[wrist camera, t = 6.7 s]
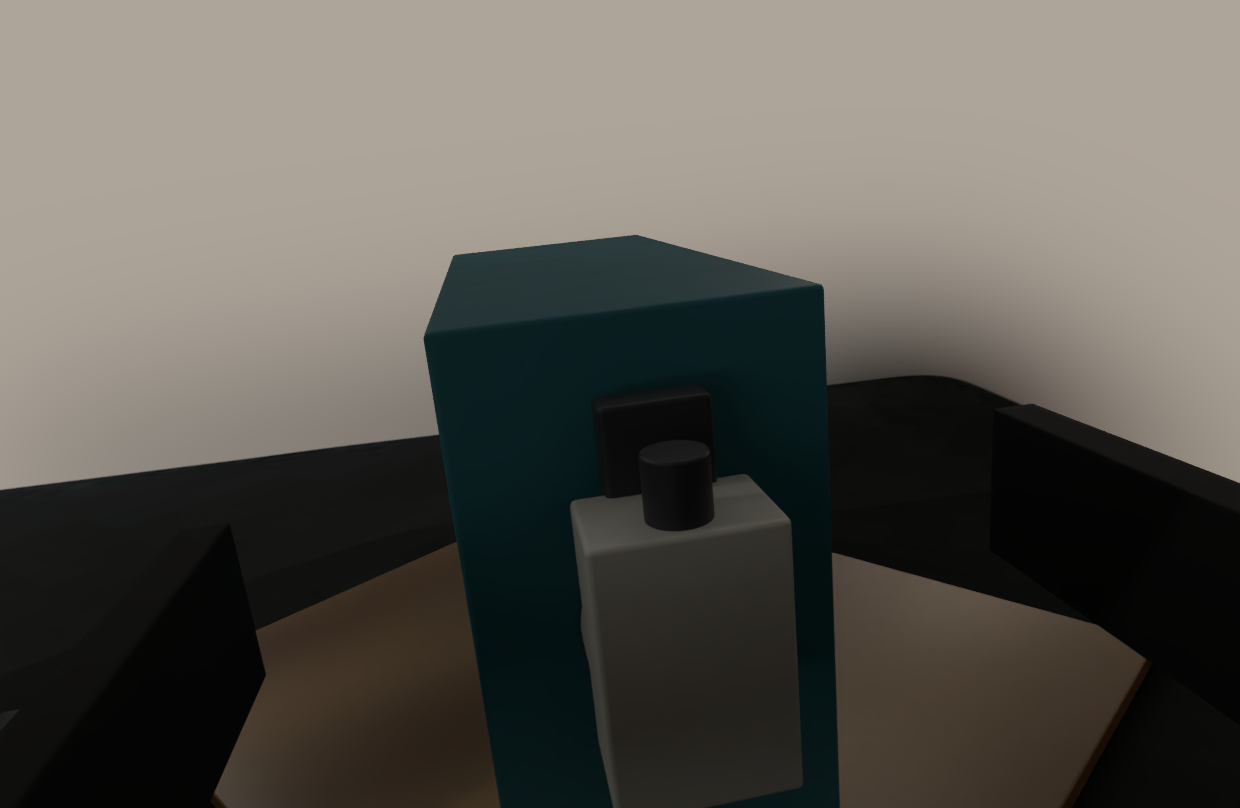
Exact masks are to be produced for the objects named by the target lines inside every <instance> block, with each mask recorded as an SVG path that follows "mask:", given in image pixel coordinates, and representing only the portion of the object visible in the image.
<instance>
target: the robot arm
mask: <svg viewBox="0 0 1240 808" xmlns="http://www.w3.org/2000/svg"><path fill="white" fill-rule="evenodd" d="M990 550H991V551H993V552H994V553H995V554H997V555H998V556H1000V557H1001V558H1003V559H1004V560H1005V561H1007V562H1008V563H1010V564H1011V565H1013V566H1014V567H1015V568H1017V569H1018V570H1020V571H1021V572H1023V573H1024V574H1025V575H1027V576H1028V577H1030V578H1031V579H1033V580H1034V581H1035V582H1037V583H1038V584H1040V585H1041V586H1043V587H1044V588H1045V589H1047V590H1048V591H1050V592H1051V593H1053V594H1054V595H1055V596H1057V597H1058V598H1060V599H1061V600H1063V601H1064V602H1065V603H1067V604H1068V605H1070V606H1071V607H1073V608H1074V609H1075V610H1077V611H1078V612H1080V613H1081V614H1083V615H1084V616H1085V617H1087V618H1088V619H1090V620H1091V621H1093V622H1094V623H1095V624H1097V625H1098V626H1100V627H1101V628H1102V629H1104V630H1105V631H1107V632H1108V633H1110V634H1111V635H1112V636H1114V637H1115V638H1117V639H1118V640H1120V641H1121V642H1122V643H1124V644H1125V645H1127V646H1128V647H1130V648H1131V649H1132V650H1134V651H1135V652H1137V653H1138V654H1140V655H1141V656H1142V657H1144V658H1145V659H1147V660H1148V661H1150V662H1151V663H1152V664H1154V665H1155V666H1157V667H1158V668H1160V669H1161V670H1162V671H1164V672H1165V673H1167V674H1168V675H1170V676H1171V677H1172V678H1174V679H1175V680H1177V681H1178V682H1180V683H1181V684H1182V685H1184V686H1185V687H1187V688H1188V689H1190V690H1191V691H1192V692H1194V693H1195V694H1197V695H1198V696H1200V697H1201V698H1202V699H1204V700H1205V701H1207V702H1208V703H1210V704H1211V705H1212V706H1214V707H1215V708H1217V709H1218V710H1220V711H1221V712H1222V713H1224V714H1225V715H1227V716H1228V717H1229V718H1231V719H1232V720H1234V721H1235V722H1237V723H1238V724H1239V725H1240V483H1238V482H1235V481H1233V480H1230V479H1227V478H1225V477H1222V476H1220V475H1217V474H1214V473H1211V472H1209V471H1207V470H1204V469H1201V468H1199V467H1196V466H1193V465H1191V464H1188V463H1186V462H1183V461H1181V460H1178V459H1175V458H1173V457H1170V456H1168V455H1165V454H1162V453H1160V452H1157V451H1154V450H1152V449H1149V448H1147V447H1144V446H1141V445H1139V444H1136V443H1134V442H1131V441H1128V440H1126V439H1123V438H1121V437H1118V436H1115V435H1113V434H1110V433H1107V432H1105V431H1102V430H1099V429H1097V428H1094V427H1092V426H1089V425H1087V424H1084V423H1081V422H1079V421H1076V420H1073V419H1071V418H1068V417H1066V416H1063V415H1061V414H1058V413H1055V412H1052V411H1050V410H1047V409H1045V408H1042V407H1040V406H1037V405H1034V404H1027V405H1021V406H1014V407H1007V408H1000V409H994V410H993V448H992V488H991V529H990ZM265 676H266V672H265V668H264V664H263V660H262V655H261V651H260V647H259V643H258V639H257V635H256V631H255V626H254V622H253V618H252V614H251V610H250V606H249V602H248V597H247V593H246V589H245V585H244V581H243V577H242V573H241V568H240V564H239V560H238V556H237V552H236V548H235V544H234V539H233V535H232V531H231V527H230V523H225V524H218V525H212V526H205V527H198V528H191V529H185V530H178V532H177V533H176V534H175V535H174V536H173V537H172V538H171V539H170V541H169V542H168V543H167V544H166V545H165V546H164V547H163V548H162V550H161V551H160V552H159V553H158V554H157V555H156V556H155V557H154V559H153V560H152V561H151V562H150V563H149V564H148V565H147V566H146V568H145V569H144V570H143V571H142V572H141V573H140V574H139V575H138V577H137V578H136V579H135V580H134V581H133V582H132V583H131V584H130V586H129V587H128V588H127V589H126V590H125V591H124V592H123V594H122V595H121V596H120V597H119V598H118V599H117V600H116V601H115V603H114V604H113V605H112V606H111V607H110V608H109V609H108V610H107V612H106V613H105V614H104V615H103V616H102V617H101V618H100V619H99V621H98V622H97V623H96V624H95V625H94V626H93V627H92V628H91V630H90V631H89V632H88V633H87V634H86V635H85V636H84V637H83V639H82V640H81V641H80V642H79V643H78V644H77V645H76V646H75V648H74V649H73V650H72V651H71V652H70V653H69V654H68V655H67V657H66V658H65V659H64V660H63V661H62V662H61V663H60V664H59V666H58V667H57V668H56V669H55V670H54V671H53V672H52V673H51V675H50V676H49V677H48V678H47V679H46V680H45V681H44V682H43V684H42V685H41V686H40V687H39V688H38V689H37V690H36V692H35V693H34V694H33V695H32V696H31V697H30V698H29V699H28V701H27V702H26V703H25V704H24V705H23V706H22V707H21V708H20V709H18V710H13V711H7V712H2V713H1V714H0V808H208V806H209V803H210V801H211V799H212V797H213V794H214V792H215V790H216V788H217V785H218V783H219V781H220V778H221V776H222V774H223V772H224V769H225V767H226V765H227V763H228V760H229V758H230V756H231V753H232V751H233V749H234V747H235V744H236V742H237V740H238V738H239V735H240V733H241V731H242V729H243V726H244V724H245V722H246V719H247V717H248V715H249V713H250V710H251V708H252V706H253V704H254V701H255V699H256V697H257V695H258V692H259V690H260V688H261V685H262V683H263V681H264V679H265Z"/></svg>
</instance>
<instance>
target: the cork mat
mask: <svg viewBox="0 0 1240 808" xmlns="http://www.w3.org/2000/svg"><path fill="white" fill-rule="evenodd" d="M832 570H833V601H834V633H835V664H836V696H837V728H838V759H839V791H840V808H1072V807H1073V805H1074V803H1075V801H1076V799H1077V798H1078V796H1079V794H1080V792H1081V790H1082V789H1083V787H1084V785H1085V783H1086V782H1087V780H1088V778H1089V776H1090V774H1091V773H1092V771H1093V769H1094V767H1095V765H1096V764H1097V762H1098V760H1099V758H1100V756H1101V755H1102V753H1103V751H1104V749H1105V748H1106V746H1107V744H1108V742H1109V740H1110V739H1111V737H1112V735H1113V733H1114V731H1115V730H1116V728H1117V726H1118V724H1119V722H1120V721H1121V719H1122V717H1123V715H1124V714H1125V712H1126V710H1127V708H1128V706H1129V705H1130V703H1131V701H1132V699H1133V697H1134V696H1135V694H1136V692H1137V690H1138V688H1139V687H1140V685H1141V683H1142V681H1143V680H1144V678H1145V676H1146V674H1147V672H1148V671H1149V669H1150V667H1151V665H1152V663H1151V662H1150V661H1148V660H1147V659H1145V658H1144V657H1142V656H1141V655H1140V654H1138V653H1137V652H1135V651H1134V650H1132V649H1131V648H1130V647H1128V646H1127V645H1125V644H1124V643H1122V642H1121V641H1120V640H1118V639H1117V638H1115V637H1114V636H1112V635H1111V634H1110V633H1108V632H1107V631H1105V630H1104V629H1102V628H1101V627H1100V626H1098V625H1095V624H1091V623H1088V622H1084V621H1080V620H1077V619H1073V618H1069V617H1066V616H1062V615H1058V614H1055V613H1051V612H1047V611H1044V610H1040V609H1036V608H1033V607H1029V606H1025V605H1022V604H1018V603H1015V602H1011V601H1007V600H1004V599H1000V598H996V597H993V596H989V595H985V594H982V593H978V592H974V591H971V590H967V589H963V588H960V587H956V586H953V585H949V584H945V583H942V582H938V581H934V580H931V579H927V578H923V577H920V576H916V575H912V574H909V573H905V572H901V571H898V570H894V569H891V568H887V567H883V566H880V565H876V564H872V563H869V562H865V561H861V560H858V559H854V558H850V557H847V556H843V555H839V554H836V553H832ZM256 635H257V639H258V643H259V647H260V651H261V655H262V660H263V664H264V668H265V672H266V676H265V679H264V681H263V683H262V685H261V688H260V690H259V692H258V695H257V697H256V699H255V701H254V704H253V706H252V708H251V710H250V713H249V715H248V717H247V719H246V722H245V724H244V726H243V729H242V731H241V733H240V735H239V738H238V740H237V742H236V744H235V747H234V749H233V751H232V753H231V756H230V758H229V760H228V763H227V765H226V767H225V769H224V772H223V774H222V776H221V778H220V781H219V783H218V785H217V788H216V790H215V792H214V794H213V797H212V799H211V801H210V802H211V803H212V804H213V805H214V807H215V808H500V803H499V797H498V791H497V785H496V779H495V773H494V767H493V761H492V754H491V748H490V742H489V736H488V730H487V724H486V718H485V712H484V706H483V699H482V693H481V687H480V681H479V675H478V669H477V663H476V657H475V650H474V644H473V638H472V632H471V626H470V620H469V614H468V608H467V602H466V595H465V589H464V583H463V577H462V571H461V565H460V559H459V553H458V546H457V542H455V543H453V544H451V545H448V546H446V547H444V548H442V549H439V550H437V551H435V552H433V553H430V554H428V555H426V556H423V557H421V558H419V559H417V560H414V561H412V562H410V563H408V564H405V565H403V566H401V567H399V568H396V569H394V570H392V571H390V572H387V573H385V574H383V575H381V576H378V577H376V578H374V579H372V580H369V581H367V582H365V583H363V584H360V585H358V586H356V587H354V588H351V589H349V590H347V591H345V592H342V593H340V594H338V595H336V596H333V597H331V598H329V599H327V600H324V601H322V602H320V603H317V604H315V605H313V606H311V607H308V608H306V609H304V610H302V611H299V612H297V613H295V614H293V615H290V616H288V617H286V618H284V619H281V620H279V621H277V622H275V623H272V624H270V625H268V626H266V627H263V628H261V629H259V630H257V631H256Z"/></svg>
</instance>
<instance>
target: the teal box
mask: <svg viewBox="0 0 1240 808" xmlns="http://www.w3.org/2000/svg"><path fill="white" fill-rule="evenodd" d="M824 318H825V317H824V289H823V286H822V285H821V284H817V283H813V282H810V281H806V280H802V279H798V278H795V277H791V276H787V275H784V274H780V273H776V272H773V271H769V270H765V269H761V268H758V267H754V266H750V265H747V264H743V263H739V262H735V261H732V260H728V259H724V258H720V257H716V256H713V255H709V254H705V253H702V252H698V251H694V250H691V249H687V248H683V247H679V246H675V245H672V244H668V243H664V242H661V241H657V240H653V239H649V238H646V237H642V236H638V235H632V236H623V237H613V238H604V239H596V240H586V241H577V242H568V243H559V244H550V245H541V246H533V247H523V248H515V249H505V250H497V251H487V252H478V253H470V254H460V255H455V256H453V259H452V261H451V264H450V267H449V270H448V272H447V275H446V278H445V280H444V283H443V286H442V289H441V291H440V294H439V297H438V299H437V302H436V305H435V307H434V310H433V313H432V316H431V318H430V321H429V324H428V327H427V329H426V332H425V336H424V344H425V350H426V357H427V362H428V369H429V374H430V381H431V387H432V393H433V400H434V405H435V412H436V418H437V424H438V430H439V436H440V442H441V449H442V455H443V461H444V467H445V473H446V479H447V485H448V491H449V497H450V504H451V510H452V516H453V522H454V528H455V534H456V540H457V546H458V553H459V559H460V565H461V571H462V577H463V583H464V589H465V595H466V602H467V608H468V614H469V620H470V626H471V632H472V638H473V644H474V650H475V657H476V663H477V669H478V675H479V681H480V687H481V693H482V699H483V706H484V712H485V718H486V724H487V730H488V736H489V742H490V748H491V754H492V761H493V767H494V773H495V779H496V785H497V791H498V797H499V803H500V808H840V791H839V759H838V728H837V696H836V664H835V633H834V601H833V570H832V538H831V506H830V475H829V443H828V411H827V380H826V348H825V319H824Z"/></svg>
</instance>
